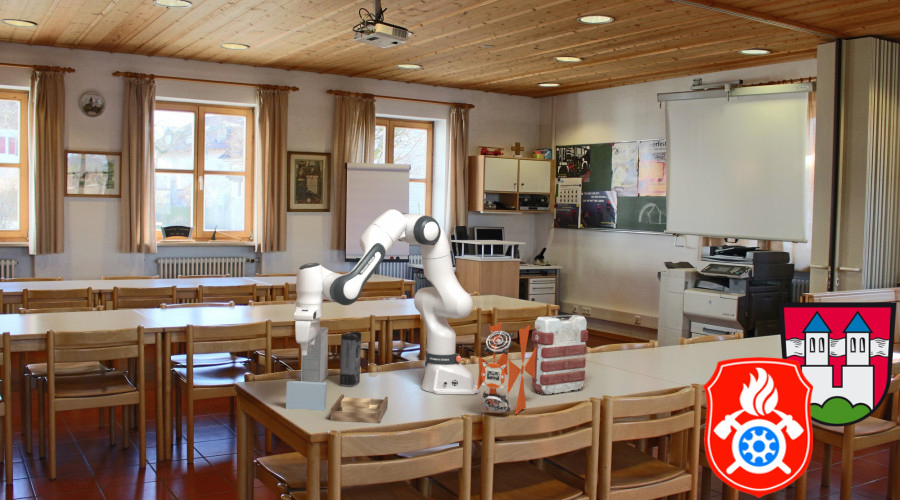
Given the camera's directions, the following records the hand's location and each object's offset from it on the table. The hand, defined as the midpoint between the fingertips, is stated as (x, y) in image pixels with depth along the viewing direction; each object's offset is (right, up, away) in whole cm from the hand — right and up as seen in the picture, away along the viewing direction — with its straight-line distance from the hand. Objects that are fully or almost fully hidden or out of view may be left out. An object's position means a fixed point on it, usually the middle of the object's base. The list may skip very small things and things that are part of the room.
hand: (307, 352), depth 267 cm
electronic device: (+9, -18, +40) cm, 45 cm away
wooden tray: (+18, -20, -4) cm, 27 cm away
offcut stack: (+18, -21, -7) cm, 28 cm away
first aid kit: (+90, -21, +43) cm, 102 cm away
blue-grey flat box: (-1, -19, +1) cm, 19 cm away
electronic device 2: (+68, -22, +10) cm, 72 cm away
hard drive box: (-6, -17, +46) cm, 49 cm away
